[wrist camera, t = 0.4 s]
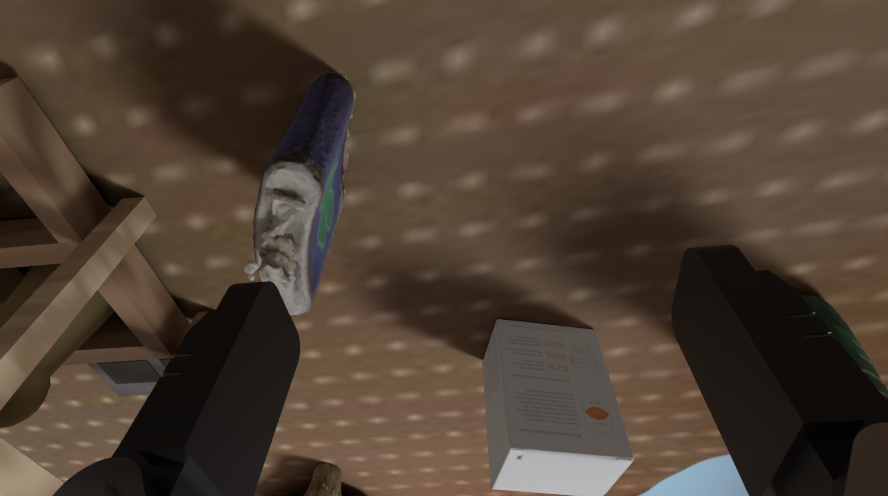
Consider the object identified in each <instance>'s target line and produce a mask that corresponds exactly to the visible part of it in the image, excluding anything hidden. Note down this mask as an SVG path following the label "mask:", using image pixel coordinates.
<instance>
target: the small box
mask: <svg viewBox="0 0 888 496" xmlns="http://www.w3.org/2000/svg"><path fill="white" fill-rule="evenodd" d="M482 365H483V379H484V394H485V408H486V423H487V437H488V453H489V467H490V480H491V487H492V489H499V490H512V491H525V492H537V493H550V494H562V495H575V496H603V495H604V494H605V493H606V492H607V491H608V490H609V489H610V488H611V486H612V485H613V484H614V483H615V482H616V481H617V479H618V478H619V477H620V476H621V475H622V474H623V472H624V471H625V470H626V469H627V468H628V466H629V465H630V464H631V463H632V462H633V460H634V457H633V453H632V450H631V447H630V444H629V440H628V437H627V434H626V431H625V427H624V424H623V420H622V417H621V414H620V410H619V407H618V404H617V400H616V397H615V394H614V390H613V387H612V383H611V380H610V377H609V374H608V371H607V367H606V364H605V361H604V357H603V354H602V351H601V347H600V344H599V341H598V337H597V334H596V331H595V330H593V329H584V328H575V327H566V326H557V325H548V324H539V323H530V322H521V321H512V320H502V319H497V320H496V323H495V327H494V330H493V332H492V335H491V338H490V341H489V344H488V347H487V350H486V353H485V356H484V360H483V363H482Z"/></svg>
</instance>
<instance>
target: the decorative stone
mask: <svg viewBox="0 0 888 496" xmlns="http://www.w3.org/2000/svg"><path fill="white" fill-rule="evenodd" d="M303 496H342V495H341V470H340V468H338V467H337V466H335V465H332V464H329V463H320V464H318V465H317V466H316V468H315V470H314V474H313V477H312V481H311V483H310V486H309V488H308V490H307V491H306V493H305V494H304V495H303Z"/></svg>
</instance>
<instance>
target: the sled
mask: <svg viewBox="0 0 888 496" xmlns="http://www.w3.org/2000/svg"><path fill="white" fill-rule="evenodd" d="M0 172H1V173H2V174H3V176H4V177H5V178H6V179H7V181H8V182H9V183H10V184H11V185H12V187H13V188H14V189H15V190H16V191H17V193H18V194H19V195H20V196H21V198H22V199H23V200H24V201H25V202H26V204H27V205H28V206H29V207H30V208H31V210H32V211H33V212H34V213H35V215H36V216H37V217H38V218H28V219H17V220H6V221H0V310H1V308H2V307H3V305H4V304H5V303H6V301H7V300H8V298H9V297H10V296H11V294H12V293H13V292H14V290H15V289H16V287H17V286H18V285H19V283H20V282H21V280H22V279H23V278H24V276H23V275H22V274H21V272H20V271H19V270H18V269H17V268H16V267H24V266H37V265H49V264H61V263H62V262H63V261H64V260H65V259H66V258H67V257H68V256H69V255H70V254H71V253H72V252H73V251H74V250H75V249H76V247H77V246H78V245H79V244H80V243H81V242H82V241H83V240H84V239H85V238H86V237H87V236H88V235H89V234H90V233H91V232H92V230H93V229H94V228H95V227H96V226H97V225H98V224H99V223H100V222H101V221H102V220H103V219H104V218H105V217H106V216H107V214H108V213H109V212H110V211H111V209H110V208H109V207H108V205H107V204H106V202H105V201H104V199H103V198H102V196H101V195H100V194H99V192H98V191H97V189H96V188H95V186H94V185H93V183H92V182H91V181H90V179H89V178H88V176H87V175H86V173H85V172H84V171H83V169H82V168H81V166H80V165H79V163H78V162H77V160H76V159H75V158H74V156H73V155H72V153H71V152H70V150H69V149H68V147H67V146H66V145H65V143H64V142H63V140H62V139H61V137H60V136H59V134H58V133H57V132H56V130H55V129H54V127H53V126H52V124H51V123H50V121H49V120H48V119H47V117H46V116H45V114H44V113H43V111H42V110H41V109H40V107H39V106H38V104H37V103H36V101H35V100H34V98H33V97H32V96H31V94H30V93H29V91H28V90H27V88H26V87H25V85H24V84H23V83H22V81H21V80H20V78H19V77H11V78H3V79H0ZM98 291H99V292H100V294H101V295H102V296H103V297H104V298H105V300H106V301H107V302H108V303H109V304H110V306H111V307H112V308H113V309H114V311H115V312H116V313H117V314H118V315H119V317H120V318H108V319H107V320H106V321H105V322H104V323H103V324H102V325H101V326H100V327H99V328H98V329H97V330H96V331H95V332H94V333H93V334H92V335H91V336H90V337H89V338H88V339H87V340H86V341H85V342H84V343H83V344H82V345H81V346H80V347H79V348H78V349H77V350H76V351H75V352H74V353H73V354H72V355H71V356H70V357H69V358H68V359H67V360H66V361H65V362H64V363H63V364H62V365H68V364H85V363H101V362H117V361H134V360H150V359H166V358H172V357H173V355H174V353H175V351H176V350H177V348H178V346H179V345H180V343H181V341H182V339H183V337H184V336H185V334H186V332H187V330H188V328H189V326H190V323H189V322H188V320H187V319H186V318H185V316H184V315H183V313H182V312H181V310H180V309H179V307H178V306H177V305H176V303H175V302H174V300H173V299H172V297H171V296H170V295H169V293H168V292H167V290H166V289H165V287H164V286H163V284H162V283H161V282H160V280H159V279H158V277H157V276H156V274H155V273H154V271H153V270H152V269H151V267H150V266H149V264H148V263H147V261H146V260H145V258H144V257H143V256H142V254H141V253H140V251H139V250H138V248H137V247H136V245H135V244H134V245H133V246H132V247H131V249H130V250H129V251H128V252H127V254H126V255H125V256H124V257H123V259H122V260H121V261H120V262H119V264H118V265H117V266H116V267H115V269H114V270H113V271H112V272H111V274H110V275H109V276H108V277H107V279H106V280H105V281H104V282H103V283H102V285H101V286H100V287H99V288H98Z"/></svg>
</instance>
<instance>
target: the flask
mask: <svg viewBox="0 0 888 496" xmlns="http://www.w3.org/2000/svg"><path fill="white" fill-rule="evenodd" d="M355 97H356V94H355V91H354V89H353V87H352V86H351V84H350V82H349V81H348V80H347V76H346V75H343V76H342V75H339V74H337V73H334V72H330V71H328V72H324V73H319V74H318V75H317V76H316V77H315V78H314V79H313V80H312V83H311V85H310V86H309V88H308V91H307V94H306V96H305V98H304V100H303V102H302V104H301V106H300V107H299V109H298V111H297V113H296V115H295V117H294V119H293V121H292V123H291V125H290V127H289V128H288V130H287V131H286V133H285V135H284V137H283V138H282V140H281V142H280V144H279V146H278V148H277V150H276V152H275V153H274V154H273V156H272V158H271V159H270V161H269V162H268V164H267V165H266V167H265V169H264V173H263V176H262V179H261V186H260V189H259V193H258V200H257V204H256V208H255V215H254V222H253V224H254V234H253V239H254V251H255V259H256V262H255V260H251V261H249V262H248V263H247V264H246V265H245V268H244V271H245V272H246V273H247V274H249V275H248V277H249V280H250V281H252V280H253V279H254V276H253V273H254V272H255V270H258V274H259V278H260V282H264V281H271V282H273V283H274V284H275V285H276V286H277V288H278V290H279V292H280V294H281V297H282V299H283V301H284V303H285V305H286V307H287V310H288V312H289V314H290V315H300V314H302V313H306V312H309V310H310V308H311V307H312V304H313V302H314V299H315V297H316V291H317V288H318V286H319V280H320V277H321V274H322V270H323V267H324V263H325V260H326V256H327V253H328V250H329V247H330V243H331V240H332V237H333V234H334V231H335V228H336V225H337V222H338V219H339V215H340V213H341V211H342V209H343V200H344V196H345V194H346V192H345V191H346V189H345V188H343V187H344V186H343V182H344V175H345V171H347V164H348V163H349V160H348V157H349V154H348V151H346V150H347V148H346V145H345V143H346V138H348V137H349V136H351V135H350V134H349V130H348V123H349V121H350V119H351V117H353V116H352V113H353V109H354V102H355Z"/></svg>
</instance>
